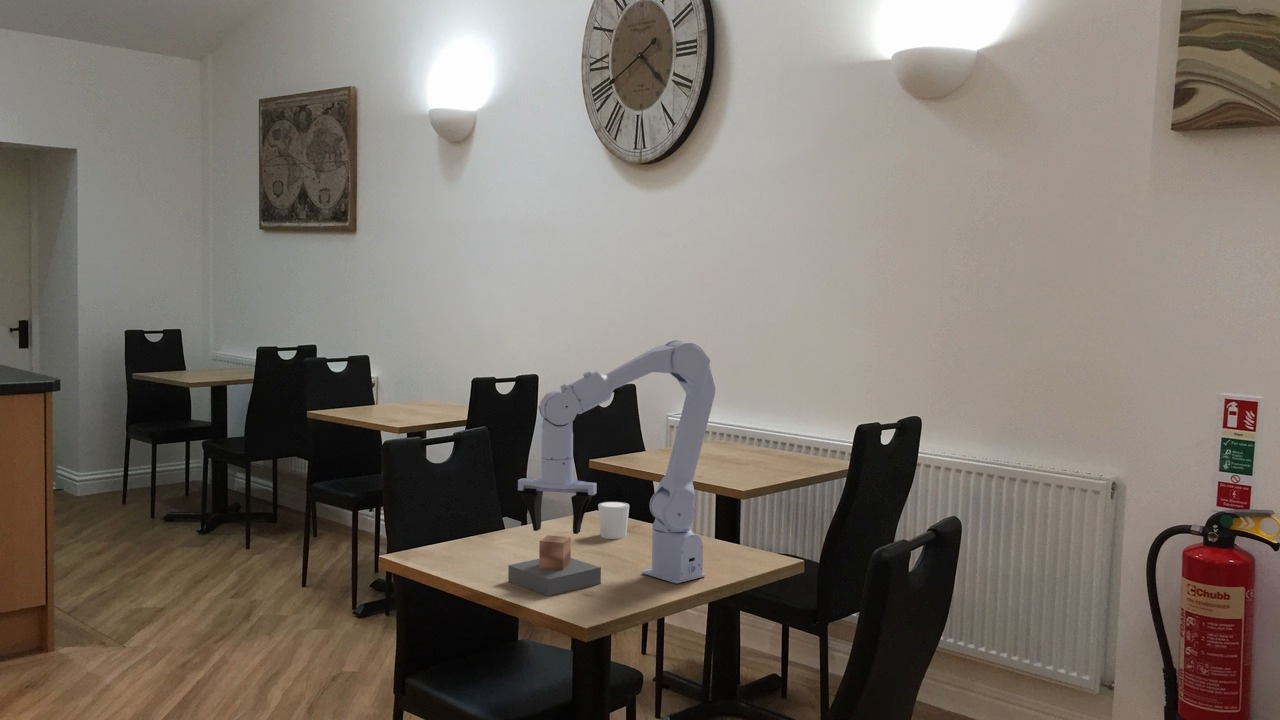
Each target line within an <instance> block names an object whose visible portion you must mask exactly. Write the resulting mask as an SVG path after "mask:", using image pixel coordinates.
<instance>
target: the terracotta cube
mask: <svg viewBox="0 0 1280 720" xmlns="http://www.w3.org/2000/svg"><path fill="white" fill-rule="evenodd" d="M571 543H572V537H571V536H560V535H549V534H547V535H546V536H545V537H543V538H542V539H540V540H539V554H538V555H539V556H538V559H539V568H543V569H555V570H564V569H565V568H566V567H567V566H568V565H570V564H571V558H572V557H571V554H572V553H571V551H572V549H571V547H572V546H571Z"/></svg>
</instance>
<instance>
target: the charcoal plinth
mask: <svg viewBox="0 0 1280 720" xmlns="http://www.w3.org/2000/svg"><path fill="white" fill-rule="evenodd" d="M507 567H508V568H507V570H508V577H507V578H508V579H507V581H508V583H509V582H510V583H512V584H515V585H517V586H519V587H522V588H526V589H529V590H530V591H534V592H537V593H539V594H542V595H545V596H548V597H551V596H555V595H558V594H563V593H567V592H572V591H576V590H579V589H584V588H588V587H592V586H597V585H601V584H602V577H601V576H602V567H601V566H597V565H594V564H592V563H589V562H585V561H582V560H578V559H575V558H572V557H571V564H570V565H568V566H567V567H566V568H565V569H564V570H555V569H543V568H539V558H537V559H531V560H527V561H526V560H525V561H522V562H518V563H512V564H508V566H507Z"/></svg>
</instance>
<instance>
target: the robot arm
mask: <svg viewBox="0 0 1280 720" xmlns="http://www.w3.org/2000/svg"><path fill="white" fill-rule="evenodd" d="M705 352H706V351H704V350H703V349H702V348H701V346H699V345H698V344H697V343H695V342H693V343H692V342H684V341H681V340H671V341H668V342H667V343H665V344H661V345H657V346H655V347H653V348H651V349H649V350H647V351H645V352H643V353H642V354H640V355H638V356H637V357H634V358H632V359H631V360H628V361H627V362H626V363H624V364H622V365H620V366H618V367H616V368H614V369H612V370H611V371H609V372H607V373H602V372H600V371H594V372H591V371H589V370H588V371H586V372H584V373H583V374H582V375H583V377H581V378H580V379H578V380H576V381H573V382H572V383H570V384H569V383H568V385H566V384H564V383H563V384H561V385H560V386H559V388H560V391H559V390H553V391H549V392H547V393H545V395H544V396H543V398H541V400H540V402H539V403H540V404H539V405H538V411H539V414H540V416H541V417H542V424H541V428H542V430H541V477H540V478H525V477H524V478H520V479H518V480H517V491H520V492H521V491H523V492H522V493H521V500H522V501H523V502H524V504H525V506H526V509H527V511H528V514H529V516H530V521H531V524H532V530H533V531H534V532H537V531H539V530H541V529H542V528H541V527H542V504H543V503H542V500H543V496H544V492H551V493H564V494H565V493H566V494H567V493H568V494H574V495H572V496H571V504H572V515H573V519H572V532H573V533H572V534H574V535H577V534H579V533H581V529H582V523H583V519H584V516H585V514H586V510H587V508H588V506H589V503H590V502H591V500H592V498H593V496H595V495H596V494H597V493H598V492H597V488H598V487H597V482H590V481H584V480H576V479H574V432H573V422H574V421H575V419H576V417H577V415H581V414H583V413H585V412H587V411H590V410H591V409H593V408H595V407H597V406H599V405H601V404H602V403H606V402H607V401H609V400H610V399H611V397H612V394H613V392H614V390H616V389H618V388H620V387H623V386H625V385H627V384H629V383H631V382H633V381H635V380H639V379H640V378H643V377H645V376H647V375H649V374H652V373H659V374H660V373H662V374H669V375H671V376H672V377H674V378H675V379H676V380H677V381H678V383H679V384H680V386H681V388H682V389H683V391H684V392H685V398H684V402H683V406H682V411H681V413H680V417H679V418H680V419H679V422H678V427H677V431H676V433H675V438H674V442H673V446H672V449H671V454H670V458H669V462H668V464H667V468H666V473H665V475H664V476H663V477H662V478H661V479H660V481H659V484H658V487H657V490H656V491H655V492H654V493H653V495H652V496H651V498H650V501H649V511H650V513H651V515H652V516H653V517H654V521H653V523H652V531H651V534H652V535H651V536H652V537H651V540H652V541H651V568H647V569H644V570H643V569H642V570H641V574H644V575H648V576H650V577H653V578H657V579H660V580H663V581H667V582H669V583H673V584H680V583H683V582H688V581H692V580H696V579H700V578H704V577H706V573H704V572H703V569H704V568H703V563H704V562H703V561H704V559H703V558H704V557H703V554H704V545H703V540H702V538H701V536H700V535H698V534H697V533H694V532H693V531H692V529H691V527H692V526H691V525H692V523H693V522H694V519H695V511H696V510H695V507H694V500H695V497H696V493H695V489H694V477H695V473H696V469H697V466H698V462H699V458H700V454H701V452H702V451H701V450H702V446H703V443H704V439H705V435H706V431H707V427H708V423H709V419H710V415H711V413H712V412H711V411H712V407H713V403H714V399H715V396H716V386H715V382H714V378H713V374H712V371H711V365H710V363H711V360H710V358H709V356H708V355H707V354H706V353H705Z"/></svg>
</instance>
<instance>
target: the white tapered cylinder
mask: <svg viewBox="0 0 1280 720" xmlns="http://www.w3.org/2000/svg"><path fill="white" fill-rule="evenodd" d="M597 507H598V519H599V521H598V522H599V532H600V537H601V538H603V539H607V540H619V539H625V538H627V532H628V522H629V513H630V504H629V503H627V502H622V501H604V502H600V503H598V504H597Z"/></svg>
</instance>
